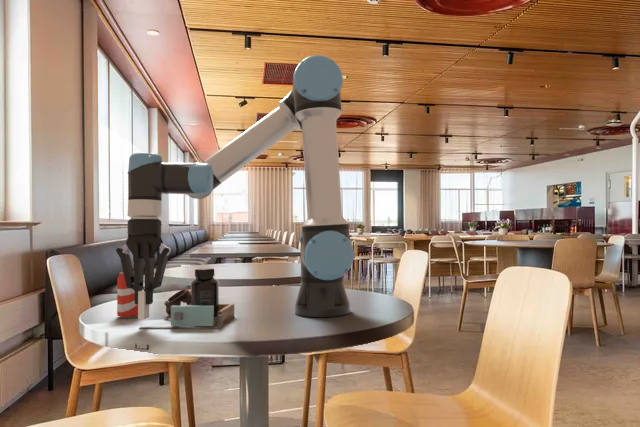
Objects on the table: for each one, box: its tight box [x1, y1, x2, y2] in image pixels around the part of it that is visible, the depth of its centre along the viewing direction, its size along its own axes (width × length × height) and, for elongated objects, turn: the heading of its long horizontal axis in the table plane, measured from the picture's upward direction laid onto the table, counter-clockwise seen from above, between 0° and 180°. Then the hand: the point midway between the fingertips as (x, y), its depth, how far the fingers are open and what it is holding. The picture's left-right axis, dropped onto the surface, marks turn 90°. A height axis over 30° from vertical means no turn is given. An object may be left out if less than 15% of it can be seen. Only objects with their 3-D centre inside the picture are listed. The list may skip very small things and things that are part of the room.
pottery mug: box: [164, 288, 191, 317], centre depth 125 cm, size 12×10×8 cm
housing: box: [138, 303, 235, 330], centre depth 114 cm, size 20×15×4 cm
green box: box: [170, 305, 214, 326], centre depth 107 cm, size 10×2×5 cm, turn 86°
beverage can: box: [116, 270, 138, 319], centre depth 124 cm, size 6×6×12 cm
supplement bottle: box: [190, 267, 220, 317], centre depth 116 cm, size 7×7×12 cm
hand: (143, 318), depth 108 cm, fingers closed
